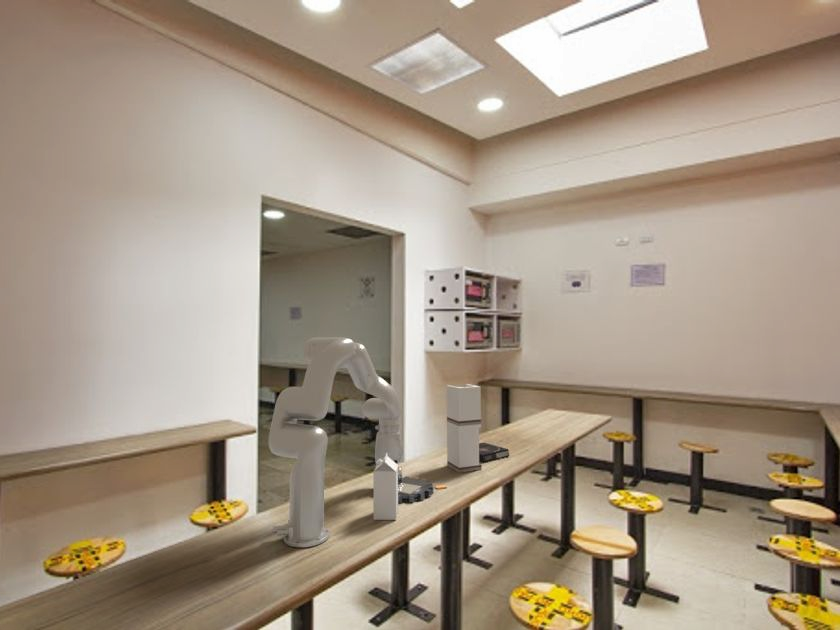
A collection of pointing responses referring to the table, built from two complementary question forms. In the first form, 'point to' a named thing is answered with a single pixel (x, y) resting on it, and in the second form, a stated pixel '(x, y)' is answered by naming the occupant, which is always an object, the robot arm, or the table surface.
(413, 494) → the sprocket
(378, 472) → the milk carton
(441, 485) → the block
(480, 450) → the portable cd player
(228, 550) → the table surface
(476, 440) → the banded white pillar
